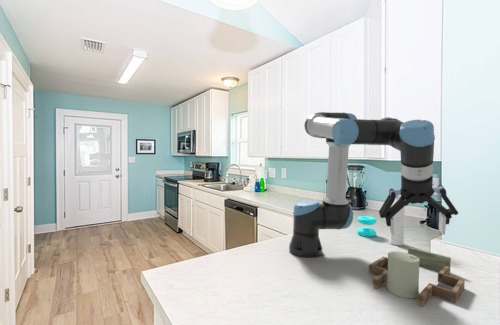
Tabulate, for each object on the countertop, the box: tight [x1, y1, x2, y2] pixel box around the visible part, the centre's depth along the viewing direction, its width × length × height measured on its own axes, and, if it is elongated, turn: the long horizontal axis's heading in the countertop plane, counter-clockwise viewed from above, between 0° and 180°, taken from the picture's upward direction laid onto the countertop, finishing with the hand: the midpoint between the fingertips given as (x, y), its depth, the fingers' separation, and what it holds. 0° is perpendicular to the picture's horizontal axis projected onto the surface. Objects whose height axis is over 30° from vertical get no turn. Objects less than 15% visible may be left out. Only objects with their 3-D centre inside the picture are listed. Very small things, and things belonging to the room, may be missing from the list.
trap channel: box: [368, 246, 465, 307], centre depth 93 cm, size 35×26×6 cm
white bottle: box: [388, 195, 406, 246], centre depth 132 cm, size 9×6×25 cm
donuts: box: [356, 215, 377, 238], centre depth 147 cm, size 10×10×10 cm
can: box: [386, 251, 420, 299], centre depth 85 cm, size 9×9×12 cm
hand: (416, 232), depth 80 cm, fingers open, 13 cm apart
